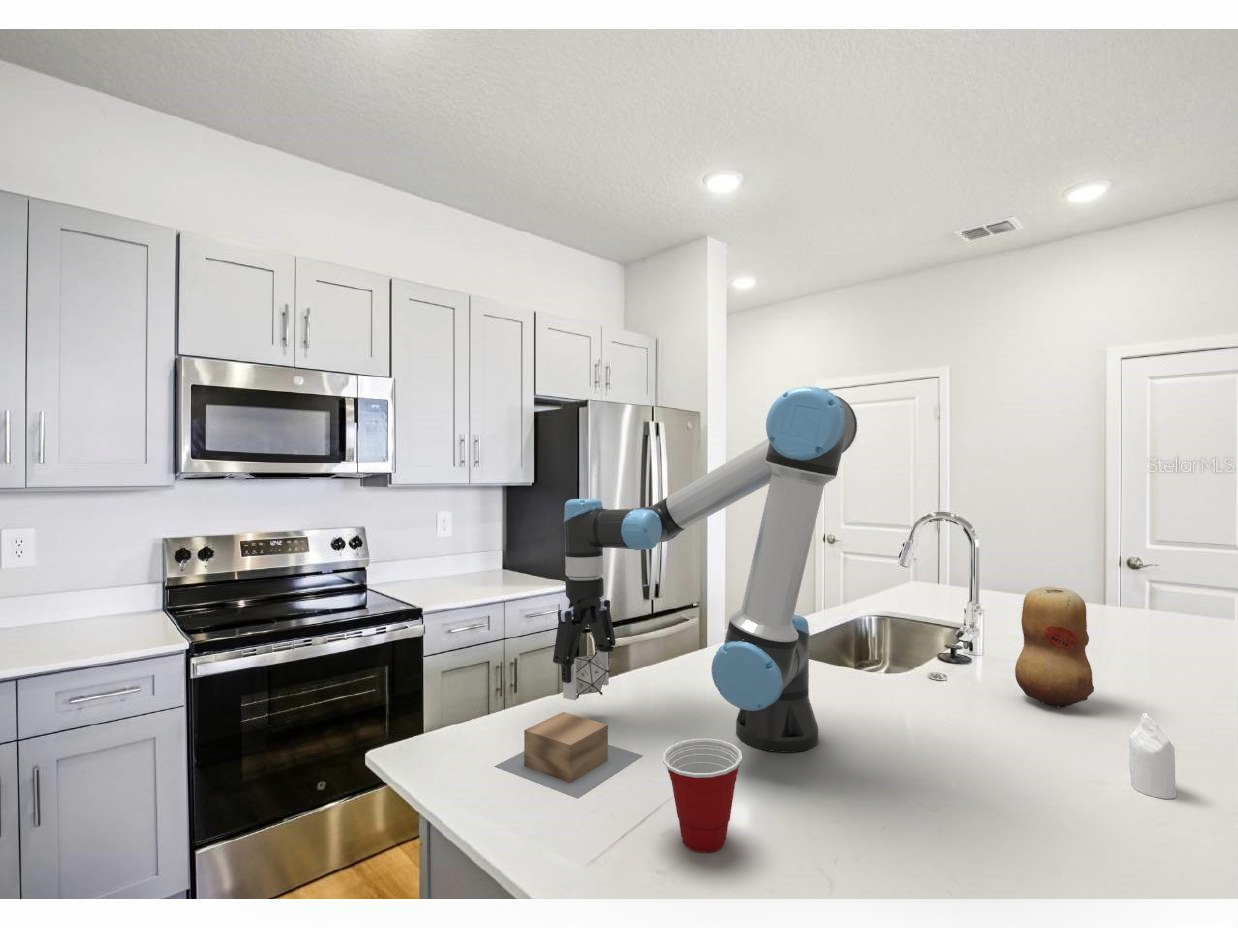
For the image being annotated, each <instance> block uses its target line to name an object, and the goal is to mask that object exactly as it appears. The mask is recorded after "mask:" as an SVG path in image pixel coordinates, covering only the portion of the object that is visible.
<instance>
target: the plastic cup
mask: <svg viewBox="0 0 1238 928" xmlns="http://www.w3.org/2000/svg"><path fill="white" fill-rule="evenodd" d="M742 761H743V755H742V751H741V749H739V747H737V746H736V745H735V744H733V743H731V742H728V741H726V740H720V739H715V738H708V737H707V738H691V739H686V740H681V741H679V742H677V743H674V744H671V745H670V746H668V747H667V748H666V750H665V751H663V752H662V762H663V764H664V766H665V767H666V769H667V772H668V774H669V779H670V782H671V785H672V786H671V787H672V793H673V797H674V799H673V800H674V803H675V808H676V809H675V810H676V814H677V816H676V817H677V818H678V825H679V829H680V830H679V832H680V837H681V838H682V843H683V844H684V845H685V847H686V848H688V849H690V850H691V851H694V852H697V853H707V854H708V853H715V852H717V851H719V850H721V849H722V848H723V847H724V845H725V842H726V840H727V835H728V827H729V822H730V819H731V814H732V813H731V812H732V806H733V800H734V794H735V788H736V787H735V786H736V782H737V778H738V777H737V776H738V773H739V767H740V764H741V763H742Z"/></svg>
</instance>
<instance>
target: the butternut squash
mask: <svg viewBox="0 0 1238 928" xmlns="http://www.w3.org/2000/svg"><path fill="white" fill-rule="evenodd" d="M1021 629H1022V634H1023V648H1022V650H1021V652H1020V654H1019V656H1018V658H1017V660H1016V662H1015V668H1014V672H1015V673H1014V675H1015V680H1016V683H1017V684H1018V686H1019V687H1020V688H1021V691H1023V693H1024V694H1025V695H1026V696H1027V697H1029V698H1031V699H1035V700H1036V701H1039V702H1040V703H1042V704H1044V705H1045V706H1049V707H1054V708H1061V709H1062V708H1063V709H1065V708H1066V707H1070V706H1072V705H1075V704H1078V703H1081V702H1084V701H1088V698H1089V697H1090V696H1091V695H1092V694H1093V693H1094V692H1095V687H1094V683H1093V682H1094V681H1093V670H1092V667H1091V666H1092V665H1091V664H1090V662H1089V659H1088V656H1087V653H1086V652H1087V651H1086V647H1087V645H1088V644H1089V642H1090V637H1089V634H1088V631H1087V630H1088V621H1087V606H1086V602H1085V600H1084V599H1083V598H1082V597H1081V595H1079V594H1078V593H1076V592H1075V591H1073V590H1072V589H1067V588H1066V587H1065V588H1064V587H1054V586H1044V587H1043V586H1042V587H1038V588H1033V589H1032V590H1030V591H1028V592H1027V593H1026V594H1025V596H1024V599H1023V604H1022V611H1021Z"/></svg>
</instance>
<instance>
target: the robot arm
mask: <svg viewBox="0 0 1238 928" xmlns="http://www.w3.org/2000/svg"><path fill="white" fill-rule="evenodd" d="M765 420H766V421H765V431H766V436H767V439H765V440H763V441H761V442H760V443H757V444H756V445H755V446H752V447H750V449H748V450H746V451H744V452H743V453H740V454H739V455H737V456H736V457H734V458H732V459H730V460H728V461H727V462H725V463H723V464H722V465H720V466H718V467H717V468H715V469H713V470H711V471H710V472H707V473H706V474H705V475H703V476H701V477H699V478H698V479H696V480H694V481H692V482H691V483H689V484H687V485H686V486H684V487H682V488H680V489H678V490H677V491H675V492H673V493H672V494H670V495H668V496H667V497H665V498H663V499H662V500H660V501H658V502H656V503H654V504H652V505H650V506H644V507H635V508H623V509H622V508H620V509H619V508H618V509H617V508H615V509H609V508H608V509H607V508H604V506H603V502H602V500H601V499H600V498H572V499H568V500H567V501H566V502H565V504H564V516H563V517H564V519H563V524H564V526H563V528H564V545H565V546H564V547H565V548H564V549H565V550H564V556H565V557H564V558H565V559H564V560H565V562H564V563H565V576H566V577H567V578H566V579H565V584H564V585H565V597H566V598H568V600H569V604H568V608H567V609H558V611H557V621H558V622H557V623H558V624H557V629H556V630H557V631H556V637H555V644H554V651H553V657H552V658H553V659H552V662H553V664H556V665H560V667H561V682H562V696H563V697H562V698H563V699H566V700H570V701H576V700H577V699H578V698H577V695H578V694H577V688H576V665H574V664H573V661H574V658H575V657H576V654H577V650H578V647H579V643H580V640H581V637H582V634H583V632H584V631H585V630H586V627H587V626H588V627H589V630H590V632H591V634H592V637H593V639H594V642H595V644H596V647H597V649H598V650H595V651H594V653H595V652H596V651H597V655H596V656H597V658H598V659H599V661H600V662H601V663H602V665H603V666H604V668H605V669H606V670H609V664H610V652H611V653H612V652H613V651H614V649H615V648H614V647H615V646H616V636H615V631H614V627H613V621H612V620H613V619H612V615H611V600H610V599H603V598H602V597H604V595H605V593H604V592H605V591H604V578H603V577H602V576H604V571H605V570H604V549H607V548H609V549H625V550H626V549H627V550H634V551H640V550H641V551H642V550H653V549H655V548H656V547H657V545H658V543H665V542H668V541H670V540H673V539H674V538H677V536H679V534H680V533H681V532H683V531H685V530H686V529H688V528H690V527H691V526H694V525H696V524H697V523H699V522H701V521H703V520H704V519H707V518H708V517H710V516H712V515H714V514H716V513H717V512H719V511H722V510H723V509H725V508H728V506H730V505H732V504H735V503H736V502H738V501H740V500H741V499H743V498H744V499H745V497H747V496H749V495H751V494H753V493H754V492H756V491H759V490H760V489H763V488H764V487H766V486H767V485H768V490H767V495H766V497H765V498H766V499H765V503H764V508H763V512H762V515H761V521H760V525H759V529H758V532H757V533H758V534H757V538H756V543H755V546H754V547H755V548H754V553H753V556H752V559H751V565H750V569H749V573H748V576H747V577H748V579H747V583H746V587H745V592H744V595H743V601H742V605H741V609H740V610H738V611H736V612H734V613H732V614H731V615H730V618H729V622H728V625H727V630H726V634H725V639H724V643H723V644H722V645H721V646H720V647H719V648H718V649H717V651H716V653H715V655H714V657H713V659H712V662H711V677H712V681H713V683H714V686H715V687H716V689H717V690H718V691H719V695H721V696H722V698H723V699H725V701H726V702H728V703H729V704H731V705H732V706H734V707H736V708H737V709H739V711H738V713H737V716H736V721H735V726H736V727H735V733H736V736H737V738H738V739H739V740H740V741H742V742H743V743H745V744H747V745H748V746H751V747H754V748H757V749H761V750H764V751H771V752H778V753H779V752H780V753H797V752H803V751H807V750H810V749H812V748H814V747H815V746H816V745H818V743H819V726H818V722H817V719H816V717H815V713H814V710H813V707H812V704H811V701H810V697H809V696H810V695H809V690H810V689H809V686H810V685H809V684H810V683H809V681H810V680H809V678H810V675H809V673H810V671H809V669H810V668H809V666H810V665H809V664H810V662H809V661H810V650H809V648H810V637H811V636H810V635H811V633H810V630H809V629H810V628H809V622H808V620H807V618H805V617H803V616H801V615H797V614H795V612H796V607H797V603H798V599H799V594H800V591H801V586H802V582H803V577H804V573H805V570H806V564H807V560H808V556H809V552H810V548H811V543H812V539H813V536H814V535H813V534H814V531H815V527H816V526H815V525H816V524H817V523H816V522H817V518H818V514H819V509H820V505H821V502H822V501H821V500H822V496H823V493H824V487H825V486H826V485H827V484H828V483H829V482H832V481H833V480H835V479H836V478H837V474H838V472H839V471H838V470H839V466H840V464H841V459H842V455H843V454H844V452H846V451H847V450H848V449H849V448H850V447H851V446H852V444H853V442H854V441H855V439H856V436H857V432H858V419H857V416H856V414H855V411H854V409H853V408H852V407H851V405H850V404H849V403H848V402H847V401H846V400H845V399H843V398H842V397H840V396H838V395H835V394H834V393H832V392H831V391H829V390H827V389H825V388H821V387H816V386H814V387H813V386H801V387H796V388H792V389H790V390H788V391H786V392H784V393H782V394H781V395H780V396H779V397H778V398H777V399H776V400H775V401H774V402H773V404H771V407H770V408H769V410H768V412H767V416H766V419H765ZM609 680H610V679H609V672H607V673H606V676H605V679H604V682H603V685H602V686H605V687H606V686H609V683H610V682H609Z"/></svg>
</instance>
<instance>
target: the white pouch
mask: <svg viewBox="0 0 1238 928" xmlns="http://www.w3.org/2000/svg"><path fill="white" fill-rule="evenodd" d="M1175 750H1176V749H1175V746H1174V745H1173V744H1172V742H1171V740H1170V739H1169V737H1168V736H1167V735H1166V733H1165V732H1163V730H1162V728H1161V727H1160V725H1158V724H1157V723H1156V722H1155V721H1154V720H1153V718H1151V716H1149V714H1148V713H1147V712H1144V713H1142V714H1141V717H1140V719H1139V723H1138V725H1137V727H1136V728H1135V730H1133V732H1132V733H1131V734H1130V735H1129V756H1128V757H1129V761H1128V762H1129V764H1128V766H1129V775H1130V785H1131V787H1132V788H1133V790H1135V791H1136V792H1139V793H1141V794H1144V795H1146V796H1149V797H1153V798H1156V799H1164V800H1174V799H1176V797H1177V791H1176V789H1177V788H1176V786H1177V785H1176V754H1175V752H1176V751H1175Z"/></svg>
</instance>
